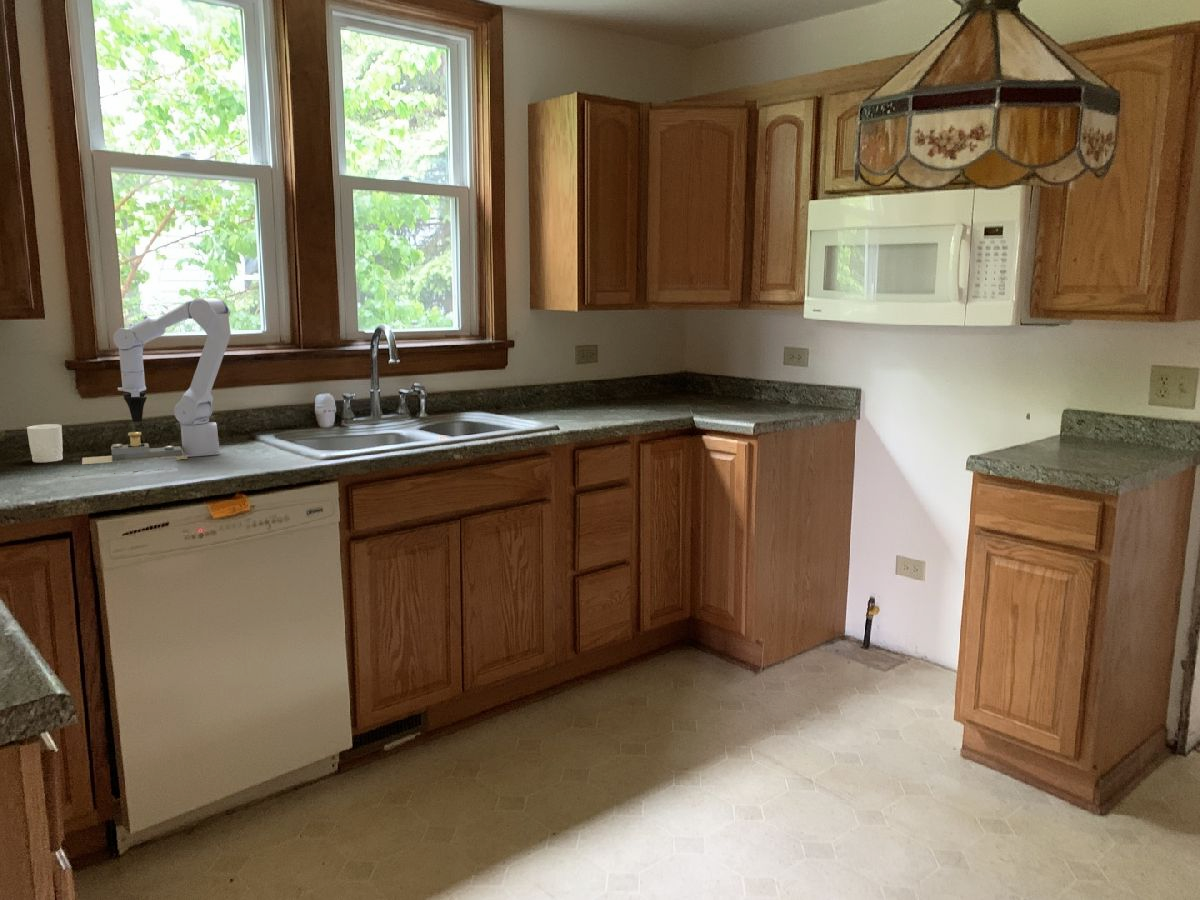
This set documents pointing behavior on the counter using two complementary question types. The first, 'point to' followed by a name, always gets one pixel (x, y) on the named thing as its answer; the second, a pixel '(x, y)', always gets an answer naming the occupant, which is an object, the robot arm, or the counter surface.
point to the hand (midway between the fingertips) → (136, 419)
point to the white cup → (45, 442)
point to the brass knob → (135, 439)
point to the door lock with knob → (137, 453)
